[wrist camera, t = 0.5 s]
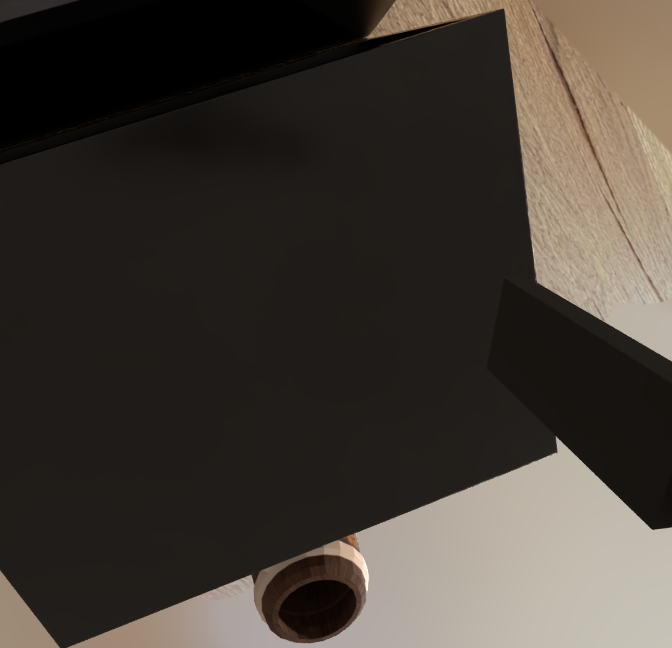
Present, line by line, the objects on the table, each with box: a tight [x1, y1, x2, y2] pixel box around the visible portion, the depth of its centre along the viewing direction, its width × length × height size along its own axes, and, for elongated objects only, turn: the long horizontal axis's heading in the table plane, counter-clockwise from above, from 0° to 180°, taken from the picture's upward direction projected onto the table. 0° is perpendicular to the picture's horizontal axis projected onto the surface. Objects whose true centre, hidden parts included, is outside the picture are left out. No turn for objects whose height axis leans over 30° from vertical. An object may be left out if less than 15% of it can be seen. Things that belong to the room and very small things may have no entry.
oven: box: [0, 9, 557, 648], centre depth 48 cm, size 32×40×26 cm
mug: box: [251, 533, 369, 643], centre depth 67 cm, size 20×15×15 cm
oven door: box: [0, 0, 396, 148], centre depth 39 cm, size 5×40×26 cm, turn 105°
